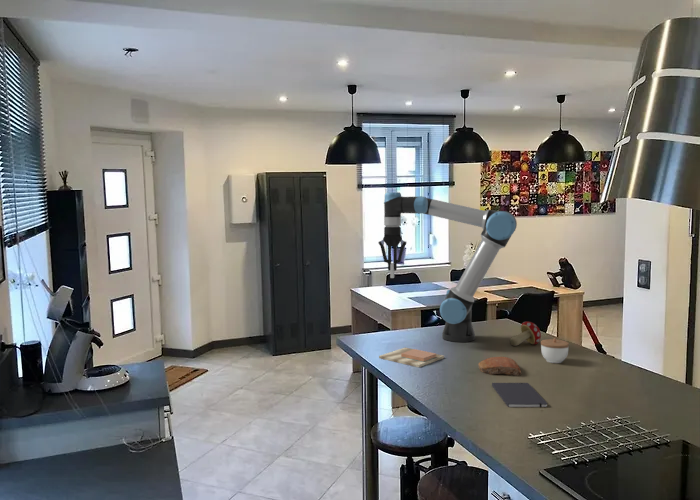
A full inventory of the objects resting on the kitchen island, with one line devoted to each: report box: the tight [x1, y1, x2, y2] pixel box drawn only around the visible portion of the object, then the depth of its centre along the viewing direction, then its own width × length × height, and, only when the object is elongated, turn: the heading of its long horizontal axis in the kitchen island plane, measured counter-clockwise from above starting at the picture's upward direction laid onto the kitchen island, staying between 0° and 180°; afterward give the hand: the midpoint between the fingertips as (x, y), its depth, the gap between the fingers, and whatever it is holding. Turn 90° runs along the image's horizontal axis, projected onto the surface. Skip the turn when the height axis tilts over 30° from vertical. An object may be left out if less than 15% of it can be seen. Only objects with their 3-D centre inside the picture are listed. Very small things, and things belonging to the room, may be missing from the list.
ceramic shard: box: [478, 356, 522, 377], centre depth 226 cm, size 15×6×15 cm
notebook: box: [491, 382, 548, 408], centre depth 197 cm, size 13×2×21 cm
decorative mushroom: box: [509, 321, 542, 347], centre depth 264 cm, size 11×11×15 cm
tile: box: [401, 348, 437, 362], centre depth 240 cm, size 2×9×11 cm
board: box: [378, 347, 445, 368], centre depth 243 cm, size 20×18×1 cm
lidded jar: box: [540, 337, 570, 364], centre depth 237 cm, size 11×11×9 cm
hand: (392, 277), depth 270 cm, fingers closed
